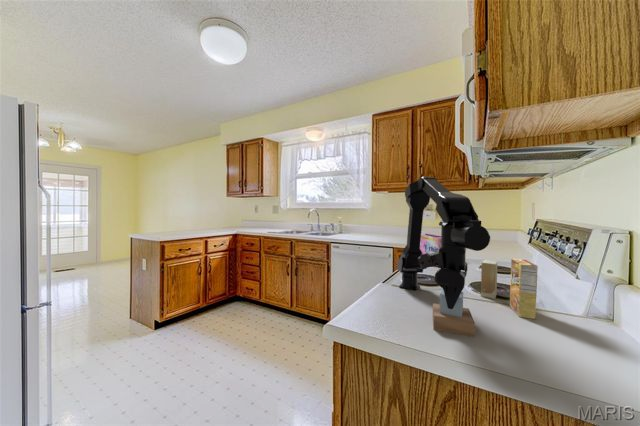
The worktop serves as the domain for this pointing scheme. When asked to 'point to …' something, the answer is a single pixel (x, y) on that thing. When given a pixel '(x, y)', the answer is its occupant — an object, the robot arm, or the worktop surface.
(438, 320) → the walnut block
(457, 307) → the slate cube
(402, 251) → the robot arm
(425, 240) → the gum box
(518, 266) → the candy box
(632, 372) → the worktop surface
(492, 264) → the skincare box
